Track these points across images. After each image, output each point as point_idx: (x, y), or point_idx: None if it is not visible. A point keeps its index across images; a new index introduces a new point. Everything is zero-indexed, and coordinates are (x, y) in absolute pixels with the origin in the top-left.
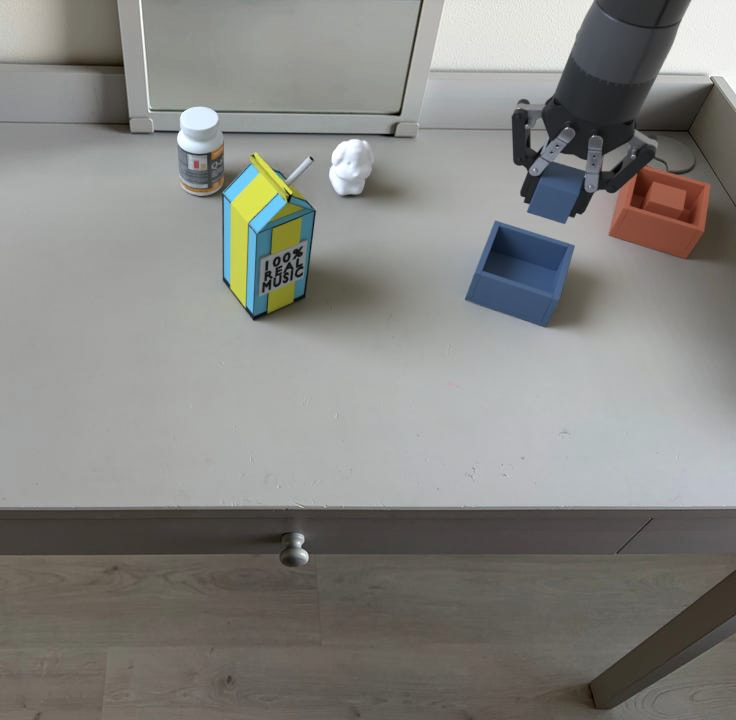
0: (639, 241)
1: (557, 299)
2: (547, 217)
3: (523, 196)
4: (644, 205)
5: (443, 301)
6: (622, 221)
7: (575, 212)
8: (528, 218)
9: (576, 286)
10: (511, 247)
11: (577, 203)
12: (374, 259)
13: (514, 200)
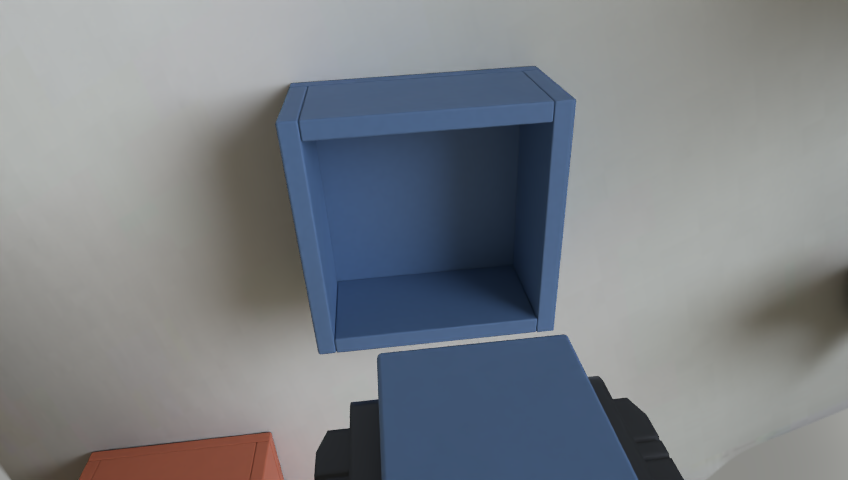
0: (200, 447)
1: (282, 124)
2: (468, 349)
3: (614, 401)
4: None
5: (593, 27)
6: (249, 475)
7: (356, 428)
8: None
9: (273, 265)
10: (470, 286)
11: (367, 477)
12: (805, 85)
13: None
